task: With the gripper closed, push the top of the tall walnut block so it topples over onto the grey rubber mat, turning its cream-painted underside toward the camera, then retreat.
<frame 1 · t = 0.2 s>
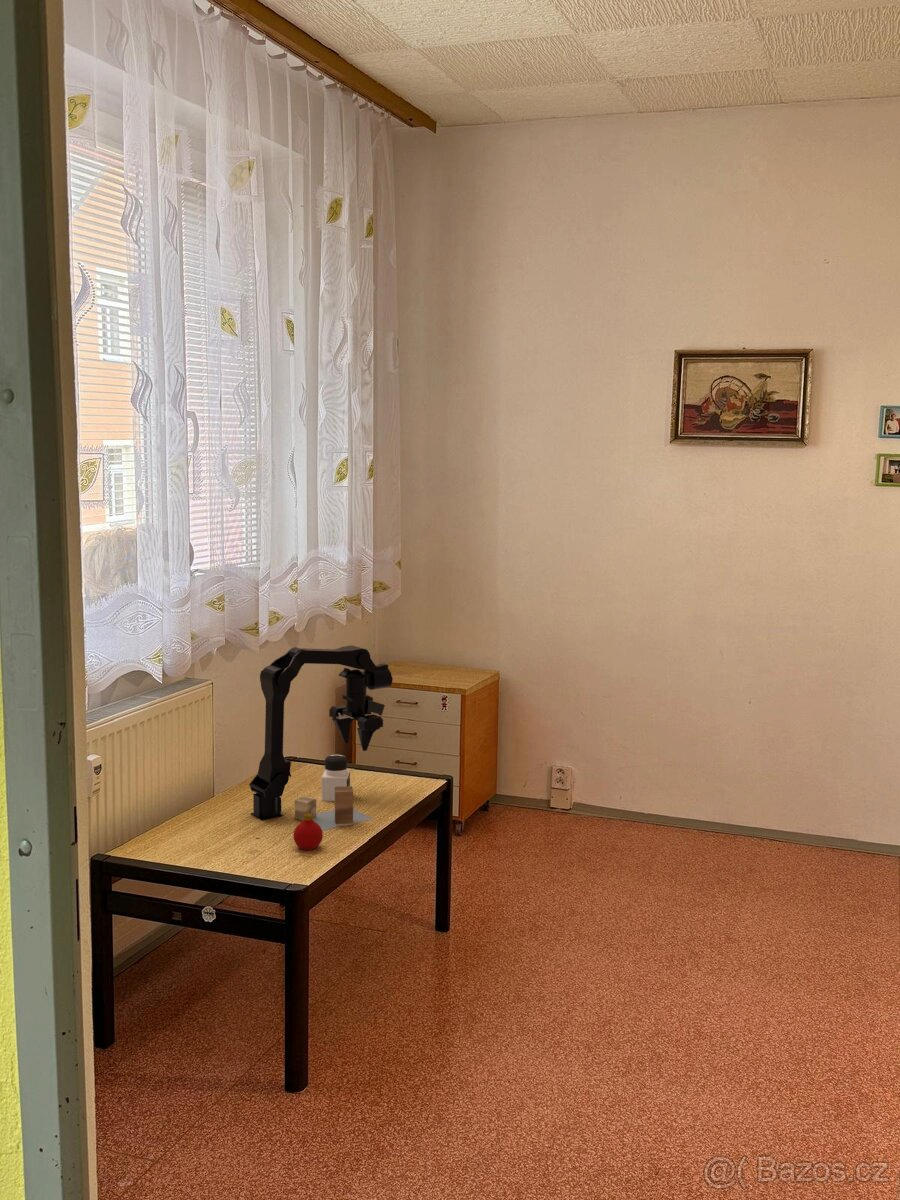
hand: (355, 747, 315), 14 cm above the table, fingers open, 9 cm apart
mat: (335, 819, 298), on the table
medicine bottle: (335, 799, 316), on the table
maple block: (305, 817, 298), resting on mat
christmas ornament: (308, 850, 277), on the table
walnut block: (343, 822, 295), resting on mat
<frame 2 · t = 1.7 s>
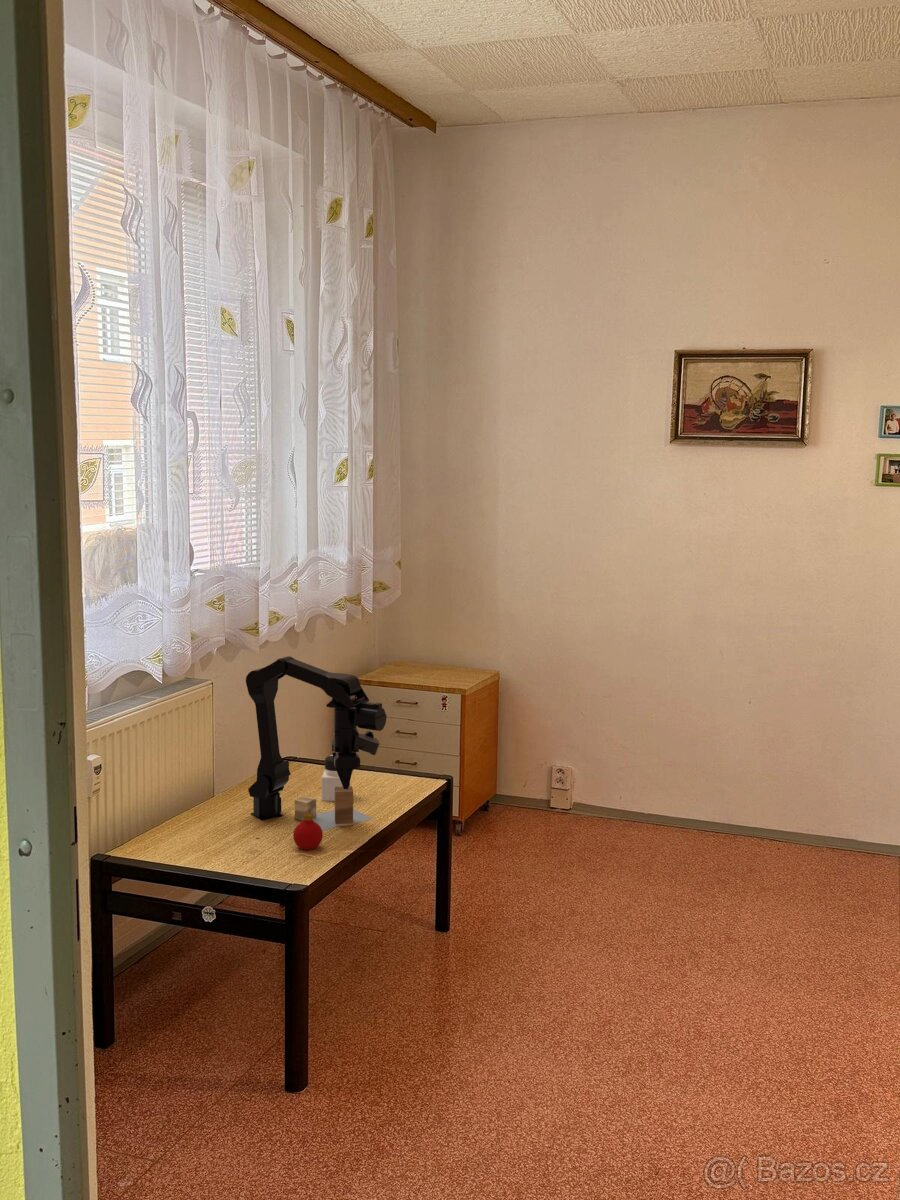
hand: (345, 785, 288), 12 cm above the table, fingers open, 5 cm apart
nothing on the table moved.
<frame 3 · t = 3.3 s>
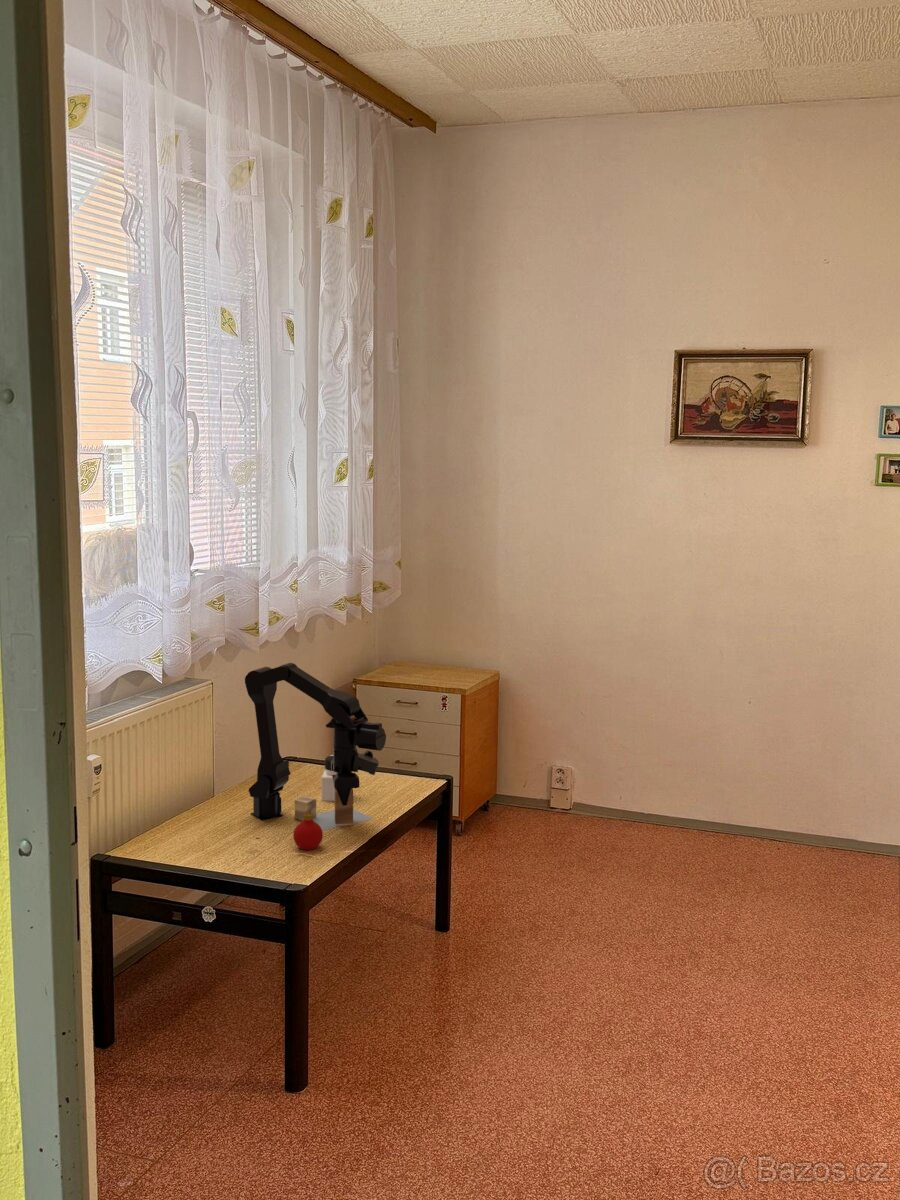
hand: (344, 805, 291), 6 cm above the table, fingers closed
walnut block: (343, 822, 295), resting on mat, touching gripper
everything else where it was.
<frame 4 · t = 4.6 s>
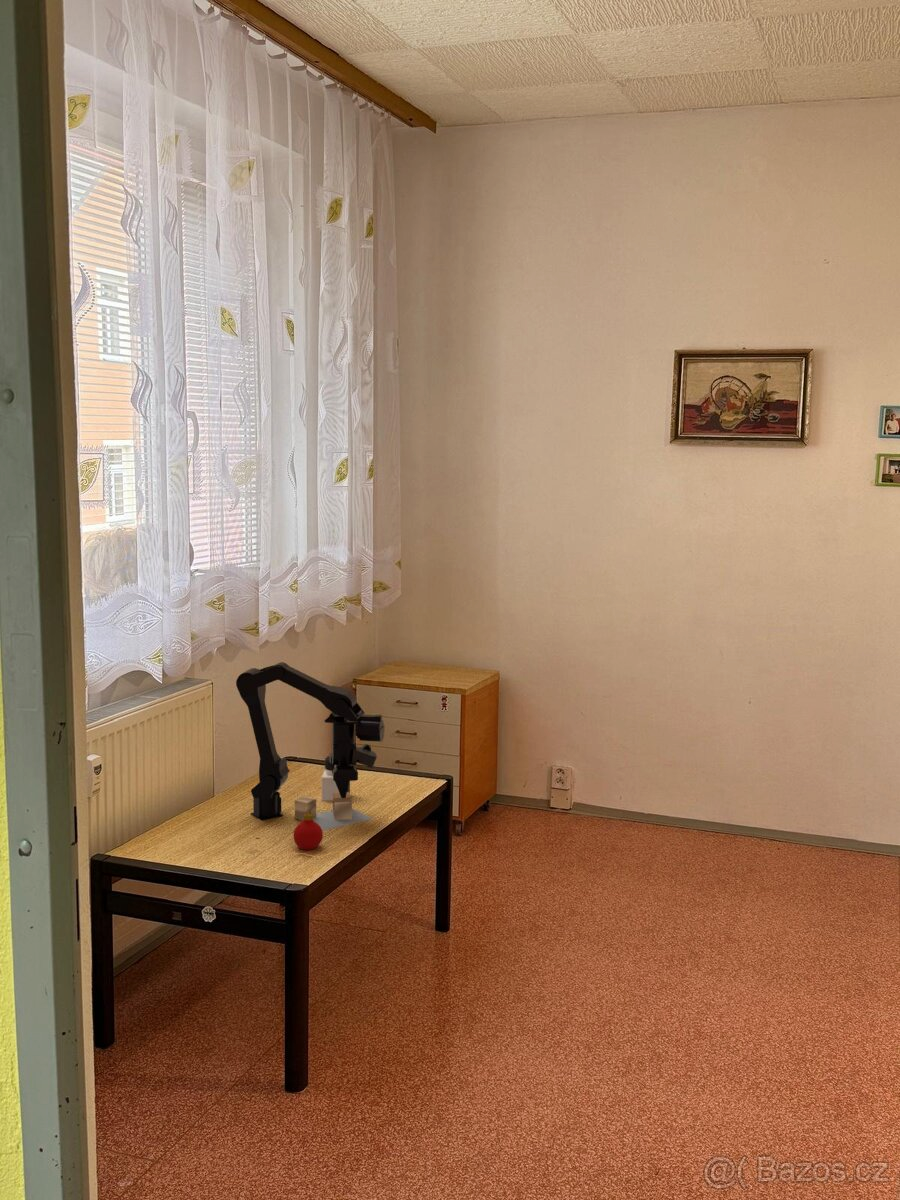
hand: (343, 797, 296), 6 cm above the table, fingers closed
walnut block: (343, 811, 297), point 3 cm above the table, tilted 90°, touching mat
everything else where it was.
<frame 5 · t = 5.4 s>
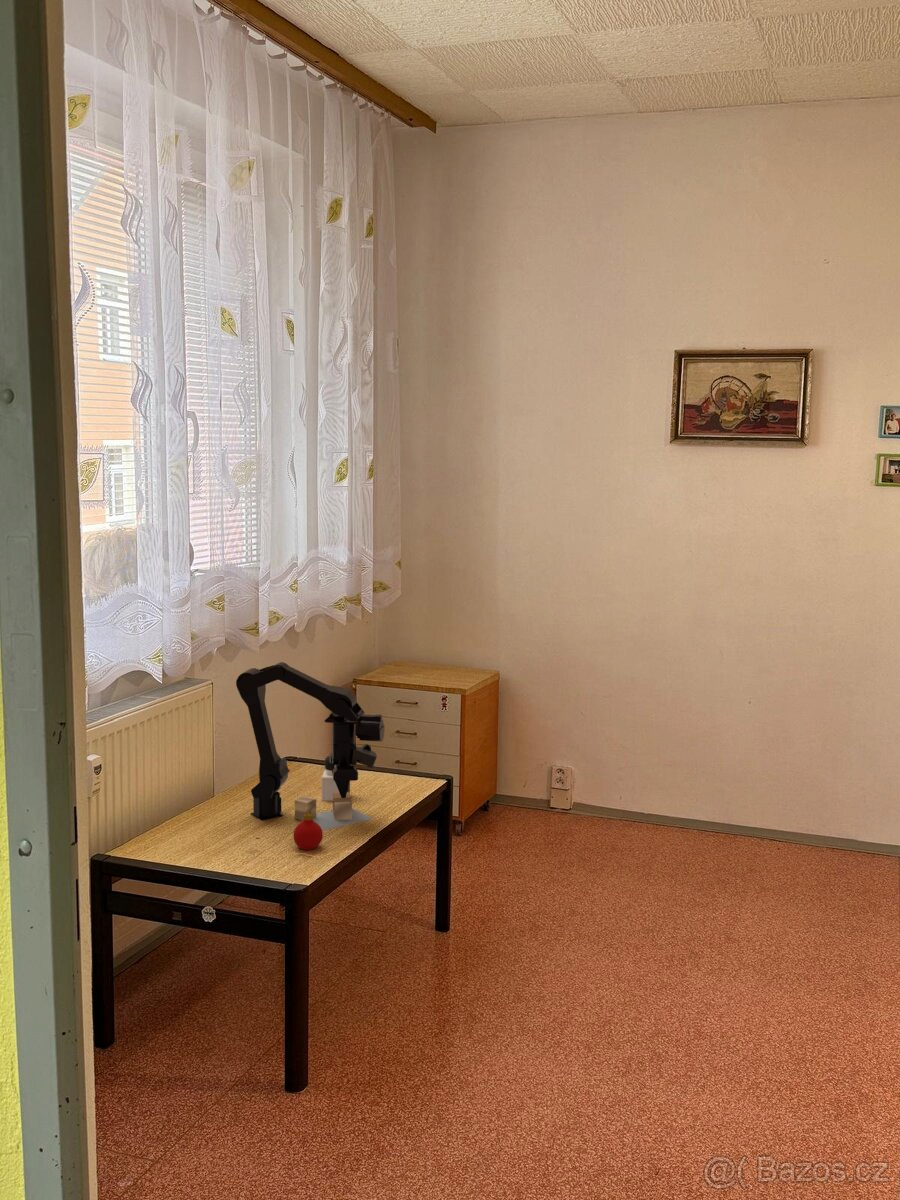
hand: (343, 797, 296), 7 cm above the table, fingers closed
nothing on the table moved.
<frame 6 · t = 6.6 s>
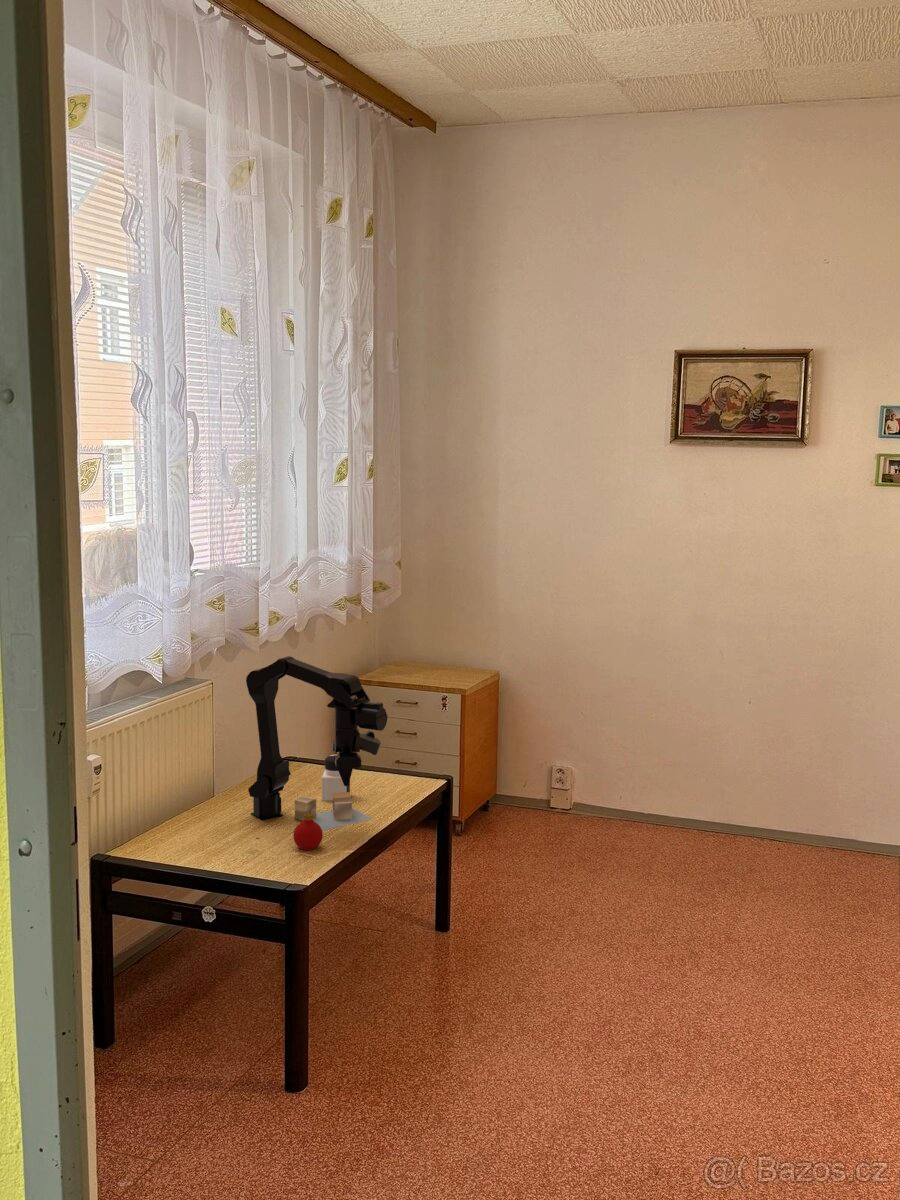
hand: (346, 785, 288), 12 cm above the table, fingers closed
nothing on the table moved.
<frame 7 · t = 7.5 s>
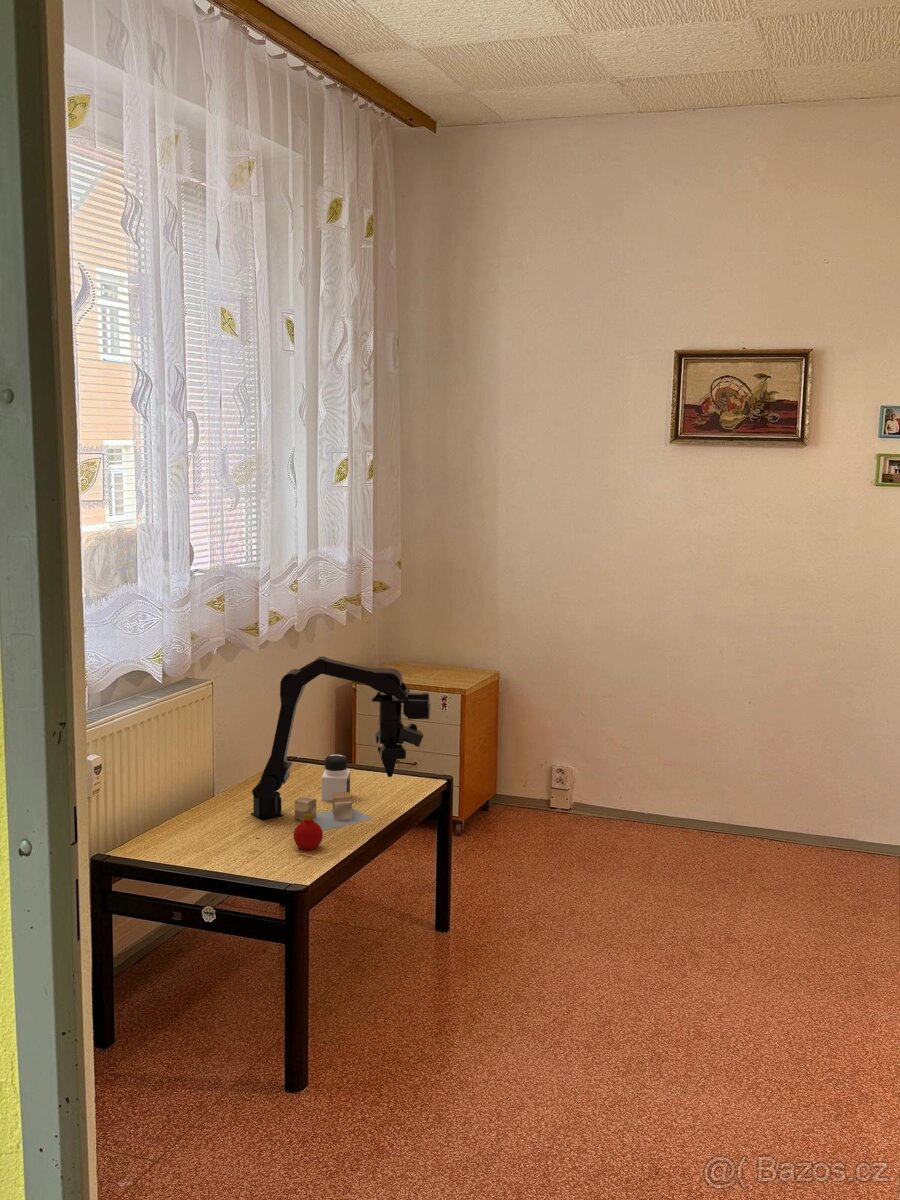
hand: (389, 776, 297), 12 cm above the table, fingers closed
nothing on the table moved.
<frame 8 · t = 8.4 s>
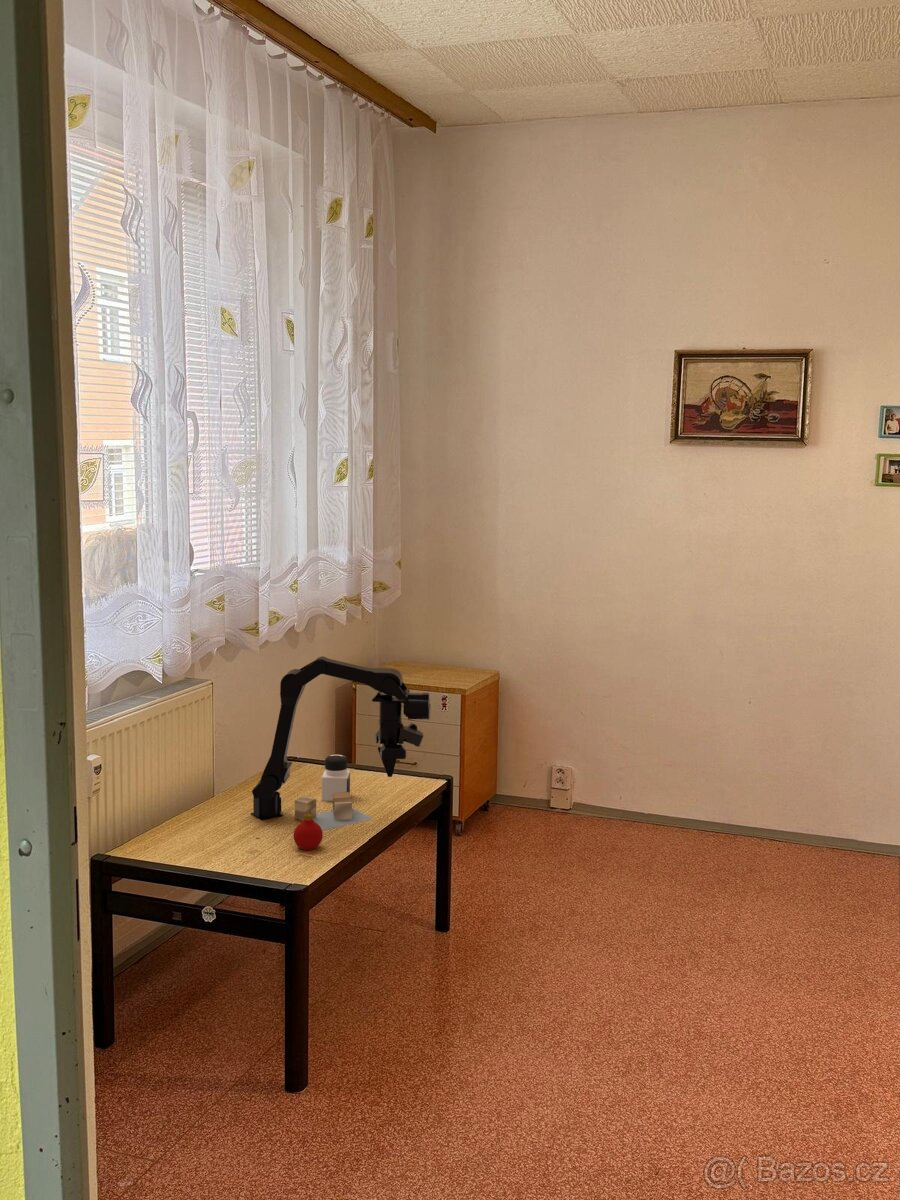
hand: (389, 776, 297), 12 cm above the table, fingers closed
nothing on the table moved.
at the end: walnut block tilted 90°; walnut block inside the target area (2.7 cm from its centre), point 2.6 cm above the table; walnut block touching mat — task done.
